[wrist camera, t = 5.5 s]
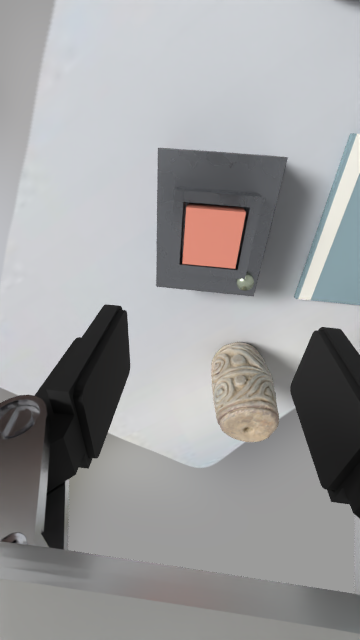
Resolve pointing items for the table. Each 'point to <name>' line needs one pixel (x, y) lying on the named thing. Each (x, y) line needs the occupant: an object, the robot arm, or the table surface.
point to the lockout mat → (337, 238)
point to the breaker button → (212, 235)
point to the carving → (243, 393)
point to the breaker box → (215, 189)
